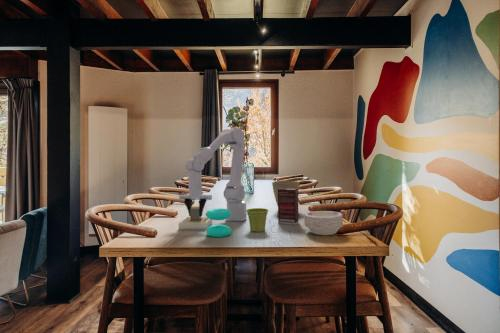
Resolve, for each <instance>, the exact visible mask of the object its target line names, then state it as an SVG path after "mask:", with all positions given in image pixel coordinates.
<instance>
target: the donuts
mask: <svg viewBox="0 0 500 333" xmlns="http://www.w3.org/2000/svg"><path fill="white" fill-rule="evenodd" d="M205 215H206V216H205V217H207V218H209V219H211V220H212V221H224V220H225V219H227V218H229V217H230V216H231V212H230V210H228V209H227V208H211V209H208V210H207V211H206V213H205ZM205 231H206V235H207V236H209V237H211V238H223V237H227V236H229V235H231V233H232V229H231V227H230V226H228V225H227V224H211V225H210V227H208V228H207V230H205Z"/></svg>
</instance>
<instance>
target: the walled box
mask: <svg viewBox="0 0 500 333" xmlns="http://www.w3.org/2000/svg"><path fill="white" fill-rule="evenodd" d="M212 225H213V220H211V219H209V218H207V216H205V217H204V216H201V220H200V221H190V216H189V217H187V216H186V217H185V218H183V219H182V220H181V221H178V230H181V231H182V230H183V231H185V230H186V231H187V230H188V231H189V230H190V231H191V230H192V231H196V230H198V231H206V230H207V228H208V227H210V226H212Z"/></svg>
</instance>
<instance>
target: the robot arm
mask: <svg viewBox="0 0 500 333" xmlns="http://www.w3.org/2000/svg"><path fill="white" fill-rule="evenodd" d="M244 138H245V133H244V131H242V129H241V128H239V127H235V128H225V129H223V130H222V131H221V132H219V135H218V136H216V138H215V139H214V140H213V141H212V142H211V143H210V144H209V145H208V146H205V147H201V148H200V151H198V152H197V153H196V154H194V155H193V157H192V158H189V159H188V160H187V161H186V164H185V169H186V170H187V175H188V176H187V177H188V194H179V195H178V200H179V201H182V200H183V203H184V205H185V207H186V210H187V212H188V216H189V217H190V209H191V207H192V206H193V200H194V201H195V200H197V201H198V206H199V208H200V211H199V215H200V216H201V217H203V212H204V208H205V205H206V203H207V201H212V200H213V195H212V194H203V190H202V186H203V184H202V180H203V179H202V170H204V168H205V164H207V163H208V161H210V160H211V159H212V158H213V157H214V152H215V151H217V150H218V149H219V148H221V147H222V145H224V144H225V143H226V144H227V145H229V146H230V147H231V148H232V156H231V157H232V158H231V166H230V174H229V175H230V176H229V181H228V182H227V183H225V188H224V191H223V197H224V199H225V202H226V209H228V210H230V212H231V216H230V217H229V218H227V219H225V222H245V221H246V220H247V216H248V214H247V212H246V210H247V202H246V201H243V200H244V199H245V196H246V194H245V193H246V192H245V185H244V184H243V183H242V175H243V174H242V173H243V165H244V164H243V163H244V158H245V149H246V148H245V146H246V145H245V141H244Z"/></svg>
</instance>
